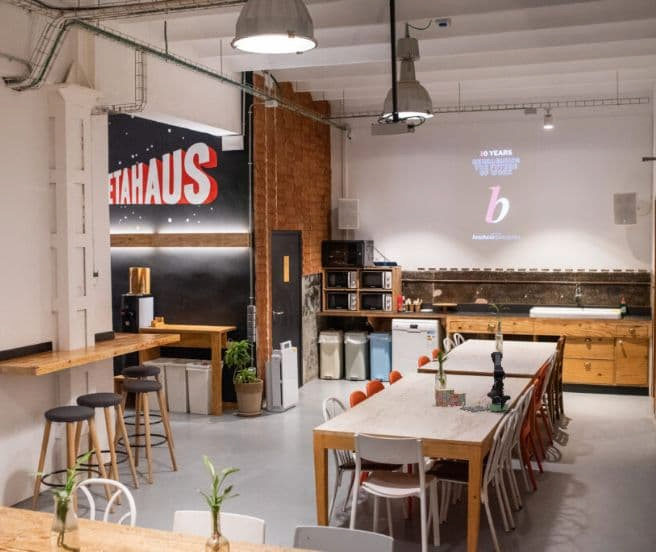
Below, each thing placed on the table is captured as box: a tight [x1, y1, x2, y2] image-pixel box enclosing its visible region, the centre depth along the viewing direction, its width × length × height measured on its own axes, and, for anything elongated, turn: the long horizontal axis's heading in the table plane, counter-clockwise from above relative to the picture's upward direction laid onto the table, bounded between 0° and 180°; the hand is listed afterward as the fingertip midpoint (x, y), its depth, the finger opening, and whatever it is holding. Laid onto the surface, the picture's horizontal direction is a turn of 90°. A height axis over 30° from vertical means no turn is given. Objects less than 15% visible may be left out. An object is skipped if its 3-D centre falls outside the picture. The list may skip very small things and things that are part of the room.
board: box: [489, 403, 509, 412], centre depth 576 cm, size 12×6×4 cm, turn 121°
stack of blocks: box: [435, 388, 467, 407], centre depth 597 cm, size 21×6×12 cm, turn 102°
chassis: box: [459, 399, 491, 413], centre depth 580 cm, size 17×14×6 cm
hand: (498, 408), depth 576 cm, fingers closed on board, 6 cm apart
